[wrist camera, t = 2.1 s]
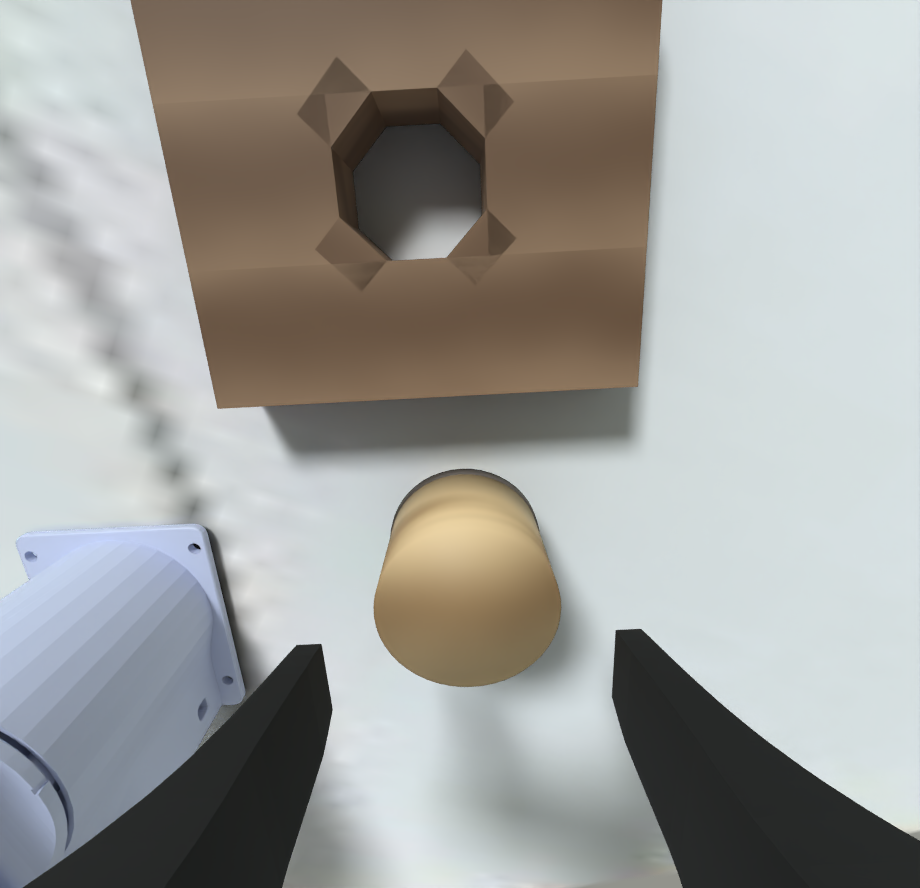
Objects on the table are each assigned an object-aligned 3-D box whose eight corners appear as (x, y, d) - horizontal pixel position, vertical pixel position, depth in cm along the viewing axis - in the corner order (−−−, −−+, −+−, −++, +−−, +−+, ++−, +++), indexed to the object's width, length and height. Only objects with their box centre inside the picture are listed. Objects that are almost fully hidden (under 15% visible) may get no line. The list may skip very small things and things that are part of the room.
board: (610, 371, 19) (637, 386, 16) (253, 390, 19) (217, 408, 16) (628, -50, 15) (670, -132, 12) (176, -22, 15) (109, -97, 12)
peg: (528, 560, 21) (561, 683, 15) (405, 566, 21) (382, 692, 15) (527, 442, 20) (564, 521, 13) (393, 449, 20) (361, 531, 13)
